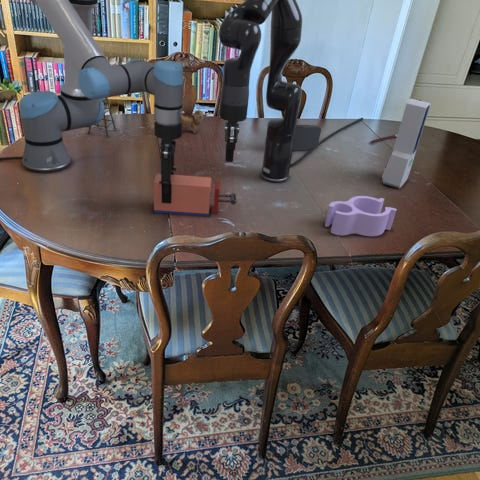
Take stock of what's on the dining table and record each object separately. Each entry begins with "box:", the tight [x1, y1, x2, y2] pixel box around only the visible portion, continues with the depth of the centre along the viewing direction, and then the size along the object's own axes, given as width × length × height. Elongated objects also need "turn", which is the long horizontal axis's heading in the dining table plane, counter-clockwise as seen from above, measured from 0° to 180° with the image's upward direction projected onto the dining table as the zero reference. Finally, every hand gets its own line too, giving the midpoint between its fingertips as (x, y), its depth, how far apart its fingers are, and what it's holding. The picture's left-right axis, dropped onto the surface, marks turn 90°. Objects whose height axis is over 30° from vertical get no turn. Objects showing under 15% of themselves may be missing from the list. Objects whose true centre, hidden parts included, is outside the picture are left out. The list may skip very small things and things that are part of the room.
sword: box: [370, 133, 398, 145], centre depth 214 cm, size 31×3×1 cm, turn 126°
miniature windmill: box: [87, 97, 117, 137], centre depth 181 cm, size 9×8×30 cm
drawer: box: [209, 181, 237, 214], centre depth 140 cm, size 20×5×8 cm, turn 92°
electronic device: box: [381, 98, 432, 189], centre depth 166 cm, size 12×8×30 cm, turn 148°
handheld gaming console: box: [291, 124, 322, 152], centre depth 189 cm, size 23×3×10 cm, turn 108°
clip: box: [324, 195, 398, 237], centre depth 141 cm, size 20×12×7 cm, turn 109°
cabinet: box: [153, 173, 212, 217], centre depth 139 cm, size 16×6×10 cm, turn 92°
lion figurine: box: [181, 109, 204, 134], centre depth 195 cm, size 15×5×9 cm, turn 110°
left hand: (167, 196), depth 140 cm, fingers closed on cabinet, 6 cm apart
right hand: (229, 160), depth 134 cm, fingers closed
